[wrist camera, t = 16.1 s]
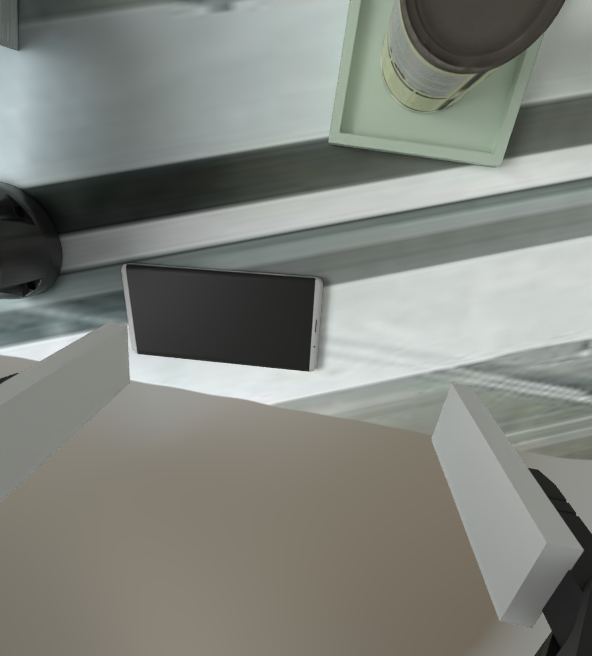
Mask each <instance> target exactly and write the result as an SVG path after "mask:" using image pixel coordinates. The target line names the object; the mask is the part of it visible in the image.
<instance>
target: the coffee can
mask: <svg viewBox="0 0 592 656" xmlns="http://www.w3.org/2000/svg"><path fill="white" fill-rule="evenodd" d="M564 2H565V0H394V4H393V8H392V12H391V16H390V19H389V23H388V27H387V31H386V33H385V36H384V39H383V42H382V47H381V54H380V68H381V75H382V79H383V83H384V86H385V88H386V90H387V91H388V93H389V95H390V96H391V97H392V99H393V100H394V101H395V102H396V103H397V104H399V105H400V106H401V107H403V108H404V109H406V110H409V111H411V112H413V113H420V114H431V113H436V112H440V111H443V110H445V109H448V108H449V107H452V106H453V105H454V104H456V103H457V102H459V101H460V100H461V99H462V98H463V97H464V96H465V95H466V94H467V93H468V92H470V91H471V90H472V89H473V88H475V87H476V86H477V85H478V84H480V83H481V82H482V81H483V80H485V79H486V78H487V77H489V76H490V75H491V74H492V73H494V72H495V71H496V70H497V69H499V68H500V67H501V66H502V65H503V64H505V63H507V62H509V61H511V60H512V59H514V58H515V57H517V56H518V55H520V54H521V53H522V52H524V51H525V50H526V49H527V48H529V47H530V46H531V45H532V44H533V43H534V42H535V41H536V40H537V39H538V38H539V37H540V36H541V35H542V34H543V33H544V32H545V31H546V30H547V28H548V27H549V26H550V24H551V23H552V22H553V20H554V19H555V17H556V16H557V14H558V13H559V11H560V9H561V7H562V6H563V4H564Z"/></svg>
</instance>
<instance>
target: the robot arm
mask: <svg viewBox="0 0 592 656" xmlns="http://www.w3.org/2000/svg"><path fill="white" fill-rule="evenodd" d="M61 263H62V250H61V244H60V240H59V237H58V234H57V232H56V229H55V227H54V225H53V223H52V221H51V220H50V218H49V217H48V215H47V214H46V212H45V211H44V210H43V209H42V207H41V206H40V205H39V204H38V203H37V202H36V201H35V200H34V199H32V198H31V197H30V196H29V195H27V194H26V193H25V192H23V191H21V190H20V189H18V188H16V187H14V186H11V185H9V184H5V183H1V182H0V299H21V298H26V297H29V296H32V295H35V294H38V293H41V292H43V291H45V290H47V289H48V288H49V287H50V286H51V285H52V284H53V283H54V282H55V280H56V279H57V277H58V275H59V272H60V269H61ZM129 383H130V376H129V354H128V333H127V325H123V324H118V323H112V322H108V323H106V324H105V325H103V326H101V327H99V328H98V329H96V330H94V331H92V332H91V333H89V334H87V335H85V336H84V337H82V338H80V339H78V340H77V341H75V342H73V343H71V344H70V345H68V346H66V347H64V348H63V349H61V350H59V351H57V352H56V353H54V354H52V355H50V356H49V357H47V358H45V359H43V360H41V361H40V362H38V363H36V364H34V365H33V366H31V367H29V368H27V369H26V370H24V371H22V372H20V373H16V374H13V375H10V376H7V377H4V378H1V379H0V502H1V501H2V500H3V499H4V498H5V497H7V496H8V495H9V494H10V493H11V492H12V491H13V490H14V489H15V488H16V487H17V486H18V485H20V484H21V483H22V482H23V481H24V480H25V479H26V478H27V477H28V476H29V475H30V474H31V473H33V472H34V471H35V470H36V469H37V468H38V467H39V466H40V465H41V464H42V463H44V461H46V460H47V459H48V458H49V457H50V456H51V455H52V454H53V453H54V452H55V451H57V450H58V449H59V448H60V447H61V446H62V445H63V444H64V443H65V442H66V441H68V440H69V439H70V438H71V437H72V436H73V435H74V434H75V433H76V432H77V431H78V430H79V429H80V428H81V427H83V426H84V425H85V424H86V423H87V422H88V421H89V420H90V419H91V418H92V417H94V416H95V415H96V414H97V413H98V412H99V411H100V410H101V409H102V408H103V407H104V406H106V405H107V404H108V403H109V402H110V401H111V400H112V399H113V398H114V397H115V396H116V395H118V393H120V392H121V391H122V390H123V389H124V388H125V387H126V386H127V385H128V384H129ZM431 440H432V442H433V445H434V448H435V450H436V453H437V456H438V458H439V461H440V464H441V466H442V469H443V472H444V474H445V477H446V480H447V482H448V485H449V487H450V490H451V493H452V495H453V498H454V501H455V504H456V506H457V509H458V511H459V514H460V516H461V519H462V522H463V525H464V527H465V530H466V533H467V535H468V538H469V541H470V543H471V546H472V549H473V551H474V554H475V557H476V559H477V562H478V565H479V567H480V570H481V572H482V575H483V578H484V580H485V583H486V586H487V588H488V591H489V594H490V596H491V599H492V602H493V604H494V607H495V610H496V612H497V615H498V618H499V620H500V621H502V622H507V623H511V624H516V625H521V626H526V627H530V628H532V627H533V626H534V624H535V623H536V621H537V620H538V618H539V617H540V615H541V614H542V612H543V613H544V615H545V617H546V620H547V621H548V624H549V626H550V628H551V630H552V632H551V633H550V634H549V636H548V638H547V639H546V640H545V642H544V643H543V644H542V646H541V647H540V649H539V650H538V652H537V653H536V654H535V656H592V534H591V533H590V531H589V530H588V528H587V527H586V526H585V524H584V523H583V522H582V521H581V519H580V518H579V517H578V516H576V512H575V511H574V510H573V508H572V507H571V505H570V504H569V503H567V502H566V499H565V497H564V496H563V495H562V493H561V492H560V491H559V489H558V488H557V487H556V485H555V484H554V483H553V482H551V481H550V480H549V479H548V478H547V477H546V476H545V475H543V474H542V473H541V472H540V471H539V470H536V469H531V468H527V467H526V465H525V463H524V462H523V461H522V459H521V458H520V456H519V455H518V453H517V452H516V450H515V449H514V447H513V446H512V445H511V443H510V442H509V440H508V439H507V437H506V436H505V434H504V433H503V431H502V430H501V429H500V427H499V426H498V424H497V423H496V421H495V420H494V418H493V417H492V415H491V414H490V412H489V411H488V410H487V408H486V407H485V405H484V404H483V402H482V401H481V399H480V398H479V396H478V395H477V394H476V392H475V391H474V389H473V388H472V386H467V385H461V384H455V383H451V386H450V389H449V392H448V394H447V397H446V400H445V403H444V406H443V408H442V411H441V414H440V417H439V419H438V422H437V425H436V428H435V431H434V433H433V436H432V439H431Z"/></svg>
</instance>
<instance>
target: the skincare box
mask: <svg viewBox="0 0 592 656" xmlns="http://www.w3.org/2000/svg"><path fill="white" fill-rule="evenodd" d="M0 45H2V46H5V47H8V48H11V49H14V50H17V51H18V14H17V0H0Z"/></svg>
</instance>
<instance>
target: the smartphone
mask: <svg viewBox="0 0 592 656" xmlns="http://www.w3.org/2000/svg"><path fill="white" fill-rule="evenodd" d="M121 273H122V280H123V288H124V295H125V302H126V309H127V316H128V323H129V330H130V337H131V344H132V349H133V351H134V352H135V353H137V354H144V355H153V356H163V357H173V358H182V359H192V360H202V361H212V362H221V363H231V364H241V365H250V366H260V367H270V368H279V369H289V370H299V371H309V372H311V371H314V370H315V369H316V367H317V358H318V345H319V332H320V319H321V306H322V293H323V281H322V280H321V279H320V278H318V277H310V276H297V275H285V274H270V273H258V272H243V271H232V270H231V271H230V270H217V269H203V268H190V267H177V266H163V265H150V264H136V263H127V264H124V265H123V266H122V267H121Z"/></svg>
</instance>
